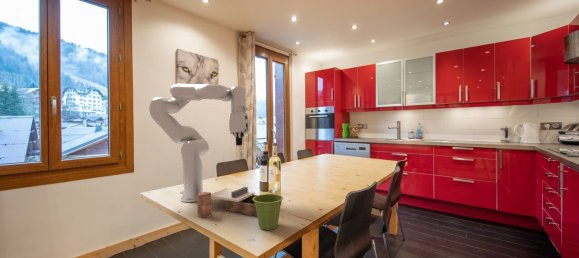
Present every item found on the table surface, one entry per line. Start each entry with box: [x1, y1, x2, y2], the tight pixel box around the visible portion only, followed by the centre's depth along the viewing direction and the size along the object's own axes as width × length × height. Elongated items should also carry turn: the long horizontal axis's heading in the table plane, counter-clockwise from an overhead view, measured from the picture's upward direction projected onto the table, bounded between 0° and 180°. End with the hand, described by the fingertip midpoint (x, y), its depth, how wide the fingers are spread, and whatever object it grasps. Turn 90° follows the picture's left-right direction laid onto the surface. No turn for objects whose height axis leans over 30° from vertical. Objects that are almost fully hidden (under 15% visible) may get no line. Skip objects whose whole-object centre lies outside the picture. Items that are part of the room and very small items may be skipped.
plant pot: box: [253, 193, 284, 231], centre depth 93 cm, size 12×12×11 cm
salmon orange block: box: [197, 191, 213, 219], centre depth 105 cm, size 4×4×10 cm
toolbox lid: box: [211, 186, 256, 202], centre depth 116 cm, size 18×13×4 cm
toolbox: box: [225, 194, 259, 218], centre depth 112 cm, size 18×13×5 cm
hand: (239, 145), depth 125 cm, fingers closed
